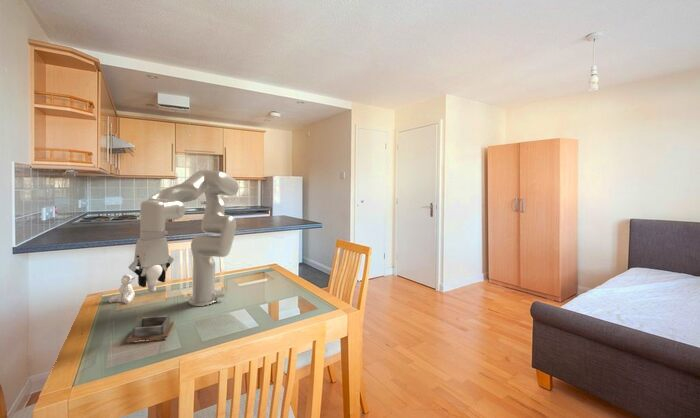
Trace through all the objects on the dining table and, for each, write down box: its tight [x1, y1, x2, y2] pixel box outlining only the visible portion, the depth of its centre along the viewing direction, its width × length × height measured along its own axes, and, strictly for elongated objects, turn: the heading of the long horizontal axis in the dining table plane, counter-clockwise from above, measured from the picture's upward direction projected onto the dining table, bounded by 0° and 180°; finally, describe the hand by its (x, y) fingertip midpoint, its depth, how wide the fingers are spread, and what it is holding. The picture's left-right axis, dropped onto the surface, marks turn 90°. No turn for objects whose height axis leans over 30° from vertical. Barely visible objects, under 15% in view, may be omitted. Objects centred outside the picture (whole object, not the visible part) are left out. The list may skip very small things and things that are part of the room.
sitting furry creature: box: [108, 274, 136, 305], centre depth 144 cm, size 10×9×12 cm
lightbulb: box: [145, 265, 162, 293], centre depth 113 cm, size 6×6×11 cm
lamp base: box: [126, 315, 175, 344], centre depth 115 cm, size 12×12×4 cm
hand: (152, 283), depth 113 cm, fingers closed on lightbulb, 6 cm apart
